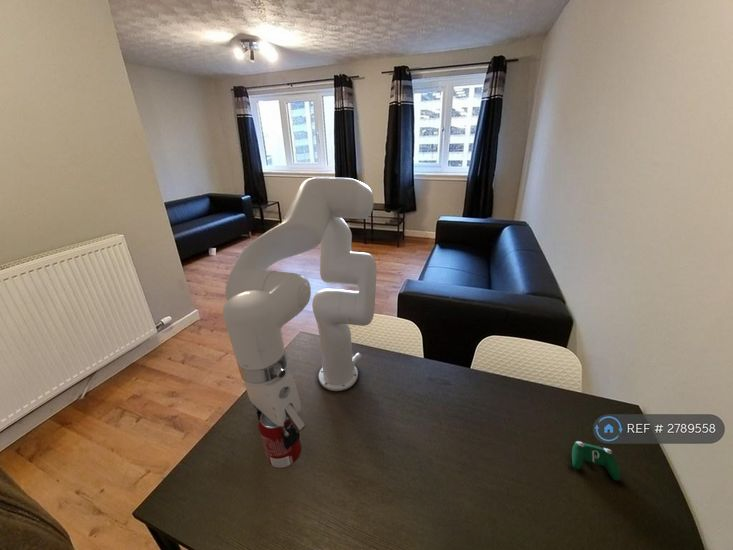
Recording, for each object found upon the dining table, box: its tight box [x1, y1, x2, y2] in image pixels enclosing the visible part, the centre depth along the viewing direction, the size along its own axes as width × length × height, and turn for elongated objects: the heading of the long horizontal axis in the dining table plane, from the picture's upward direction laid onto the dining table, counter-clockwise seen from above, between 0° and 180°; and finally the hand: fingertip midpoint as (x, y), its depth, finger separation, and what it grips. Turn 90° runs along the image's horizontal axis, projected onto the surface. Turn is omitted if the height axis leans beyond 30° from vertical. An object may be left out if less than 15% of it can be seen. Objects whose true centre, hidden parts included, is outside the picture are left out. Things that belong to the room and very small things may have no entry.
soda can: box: [257, 413, 303, 470], centre depth 59 cm, size 7×7×12 cm
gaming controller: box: [571, 440, 621, 481], centre depth 71 cm, size 9×4×6 cm
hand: (279, 430), depth 58 cm, fingers closed on soda can, 6 cm apart
